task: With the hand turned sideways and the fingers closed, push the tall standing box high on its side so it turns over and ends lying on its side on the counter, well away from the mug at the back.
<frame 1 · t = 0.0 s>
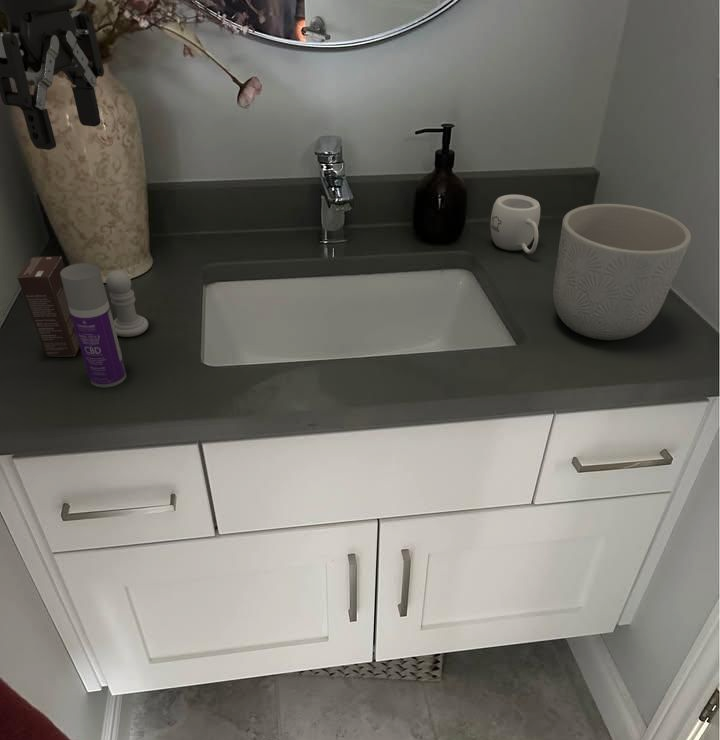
hand: (69, 136, 74), 29 cm above the worktop, tool pointing down, fingers open, 8 cm apart
mug: (515, 250, 125), on the worktop
box: (65, 347, 98), on the worktop
container: (108, 379, 92), on the worktop
planter: (598, 326, 105), on the worktop
chess piece: (130, 330, 101), on the worktop
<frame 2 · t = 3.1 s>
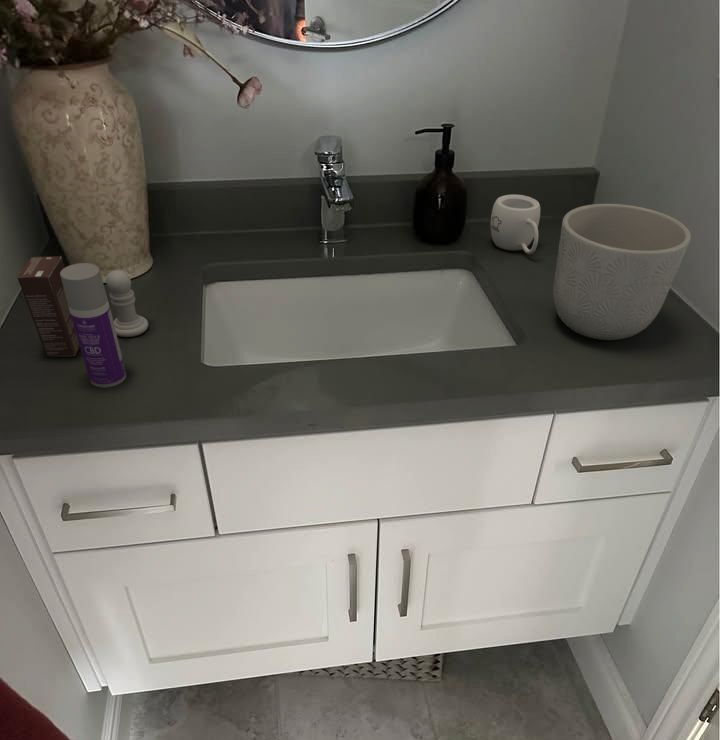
nothing on the worktop moved.
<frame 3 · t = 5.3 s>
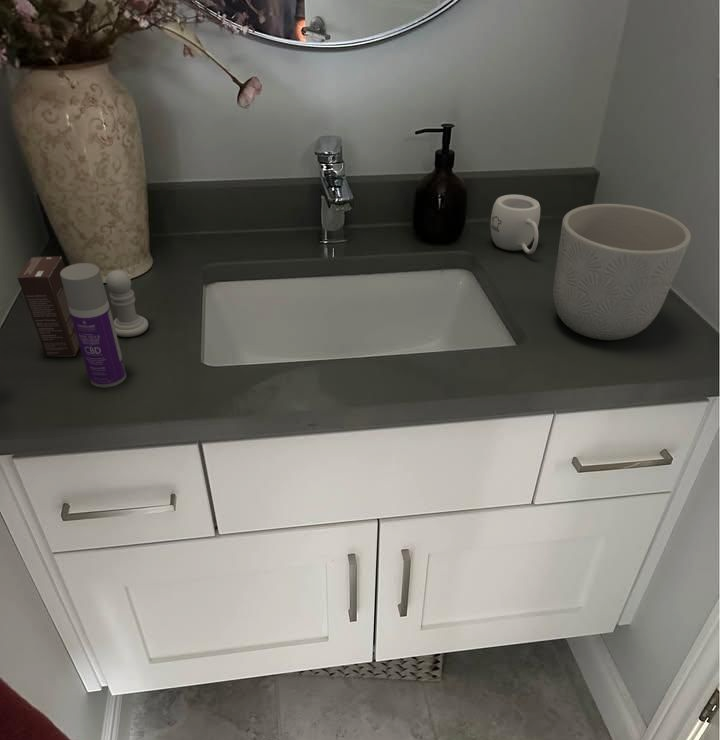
nothing on the worktop moved.
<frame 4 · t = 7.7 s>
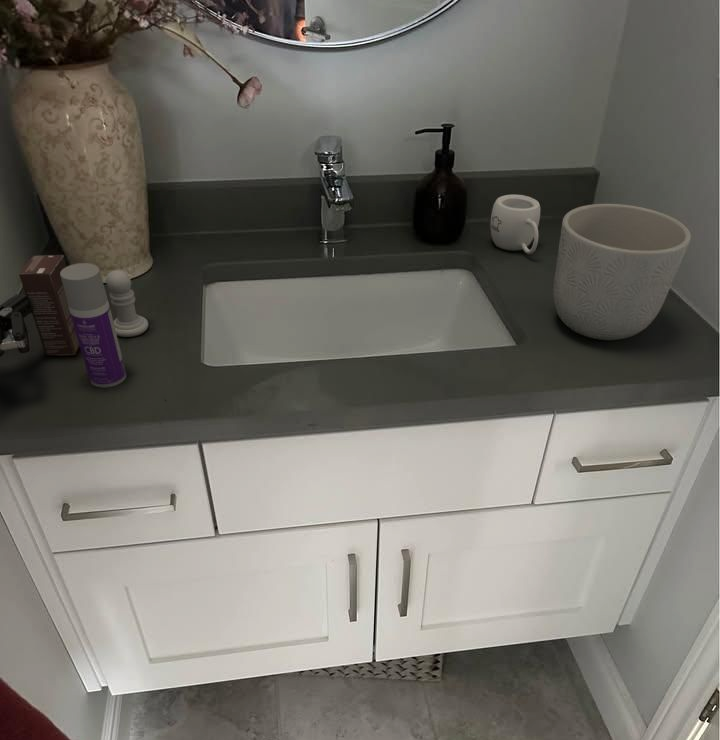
hand: (25, 301, 90), 8 cm above the worktop, tool horizontal, fingers closed
box: (65, 346, 98), on the worktop, touching gripper
everything else where it was.
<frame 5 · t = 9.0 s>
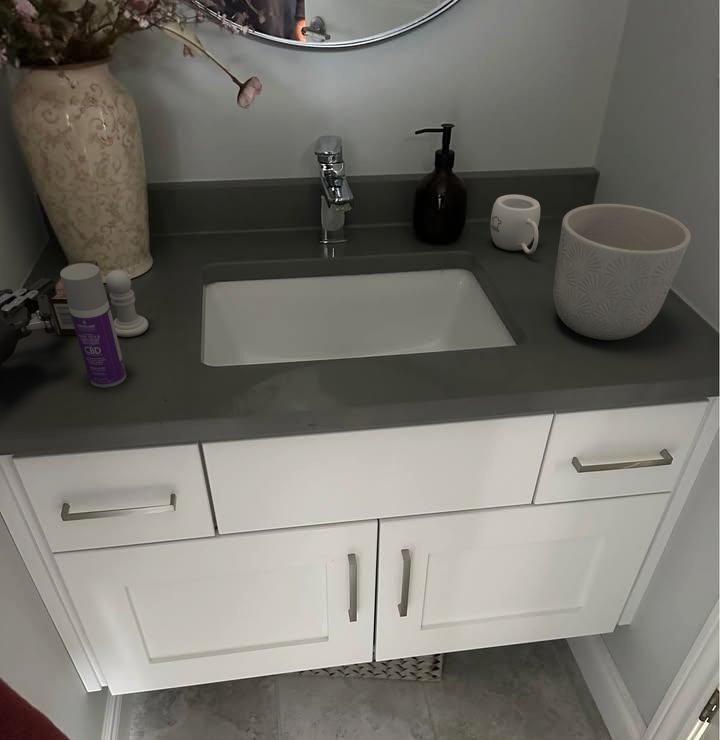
hand: (49, 285, 94), 8 cm above the worktop, tool horizontal, fingers closed
box: (65, 317, 98), point 3 cm above the worktop
everything else where it was.
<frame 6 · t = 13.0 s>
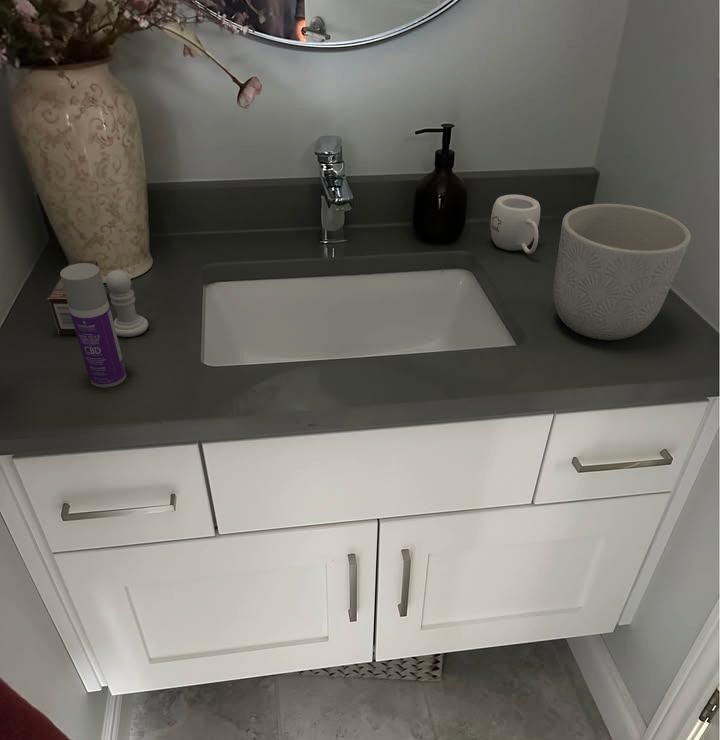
nothing on the worktop moved.
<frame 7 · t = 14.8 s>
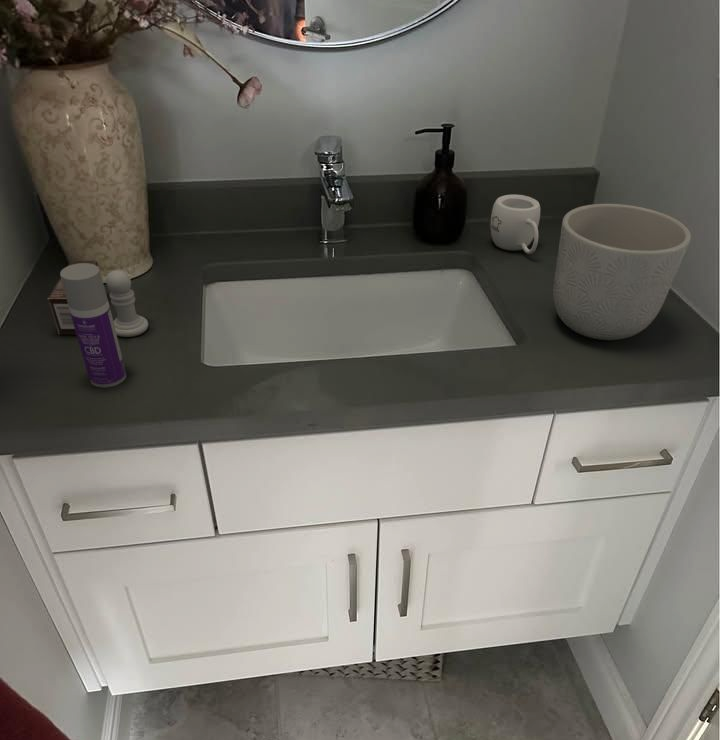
nothing on the worktop moved.
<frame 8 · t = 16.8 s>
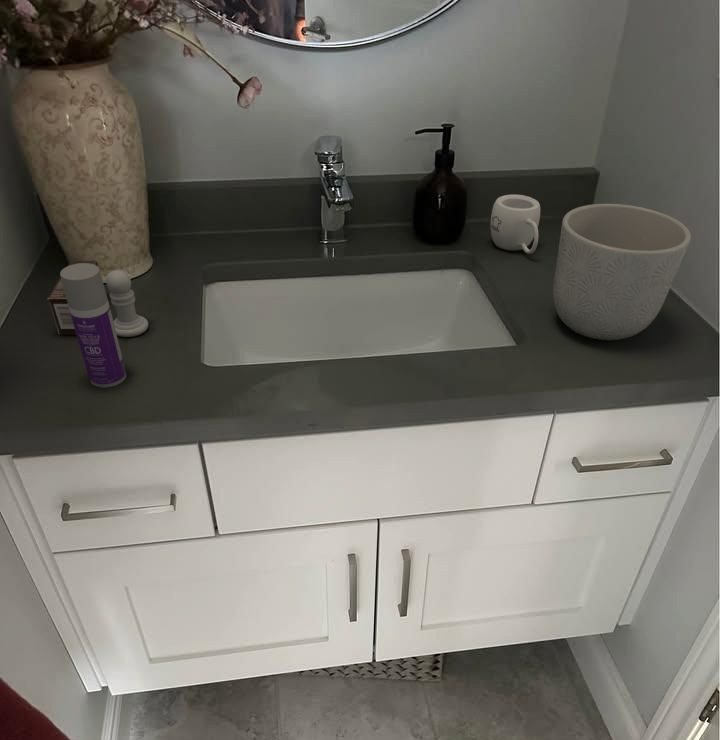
nothing on the worktop moved.
at the end: box tilted 90°; the gripper is holding nothing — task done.
